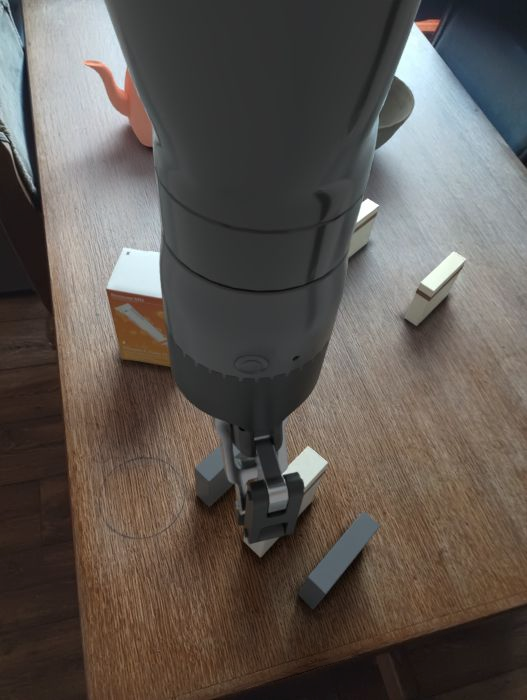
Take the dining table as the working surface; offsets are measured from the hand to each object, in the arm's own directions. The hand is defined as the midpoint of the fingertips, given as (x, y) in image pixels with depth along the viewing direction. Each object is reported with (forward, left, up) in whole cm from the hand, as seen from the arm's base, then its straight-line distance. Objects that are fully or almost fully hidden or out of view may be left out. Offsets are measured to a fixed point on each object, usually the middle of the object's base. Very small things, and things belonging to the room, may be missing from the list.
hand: (237, 456), depth 37 cm
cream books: (+10, -41, -21) cm, 47 cm away
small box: (+23, -11, -21) cm, 33 cm away
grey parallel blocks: (-2, -5, -21) cm, 22 cm away
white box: (-2, -5, -21) cm, 22 cm away
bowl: (+33, -61, -21) cm, 73 cm away
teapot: (+56, -42, -21) cm, 73 cm away
